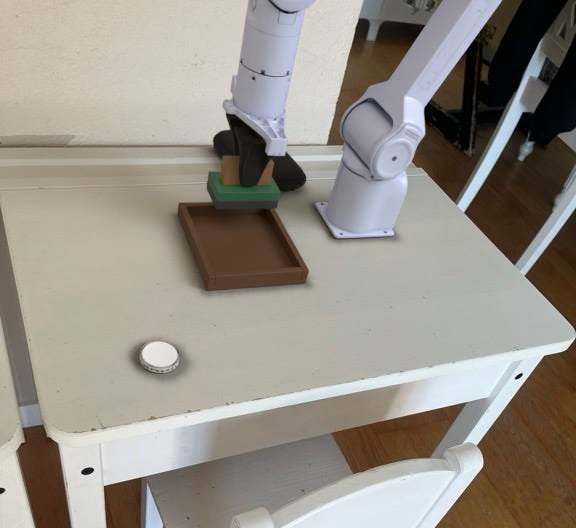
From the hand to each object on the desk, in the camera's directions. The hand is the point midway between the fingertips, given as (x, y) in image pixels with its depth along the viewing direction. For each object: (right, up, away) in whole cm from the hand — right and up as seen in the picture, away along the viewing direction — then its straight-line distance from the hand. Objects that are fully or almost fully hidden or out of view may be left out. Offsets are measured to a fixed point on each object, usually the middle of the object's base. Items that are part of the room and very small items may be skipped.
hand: (245, 178), depth 76 cm
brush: (-1, -2, +2) cm, 3 cm away
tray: (-1, -8, +3) cm, 8 cm away
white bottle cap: (-8, -23, -12) cm, 27 cm away
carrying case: (0, +7, +16) cm, 18 cm away
